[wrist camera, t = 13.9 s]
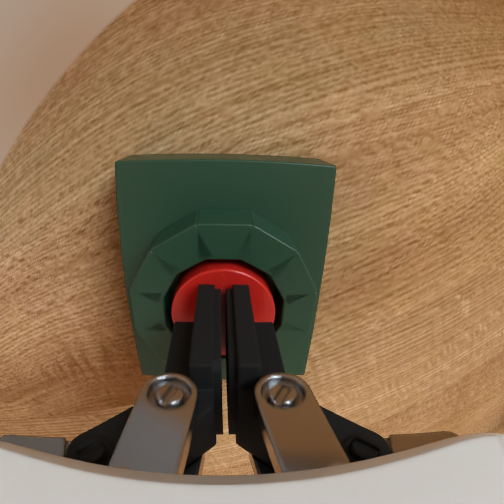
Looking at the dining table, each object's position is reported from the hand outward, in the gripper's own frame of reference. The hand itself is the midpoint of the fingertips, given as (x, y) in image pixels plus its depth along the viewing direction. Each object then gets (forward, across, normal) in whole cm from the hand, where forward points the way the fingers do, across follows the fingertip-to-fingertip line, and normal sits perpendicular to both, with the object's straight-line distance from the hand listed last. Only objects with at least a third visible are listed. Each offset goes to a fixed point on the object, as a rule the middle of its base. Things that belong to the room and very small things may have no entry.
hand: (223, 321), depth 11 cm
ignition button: (+2, 0, 0) cm, 2 cm away
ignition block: (+4, 0, 0) cm, 4 cm away
